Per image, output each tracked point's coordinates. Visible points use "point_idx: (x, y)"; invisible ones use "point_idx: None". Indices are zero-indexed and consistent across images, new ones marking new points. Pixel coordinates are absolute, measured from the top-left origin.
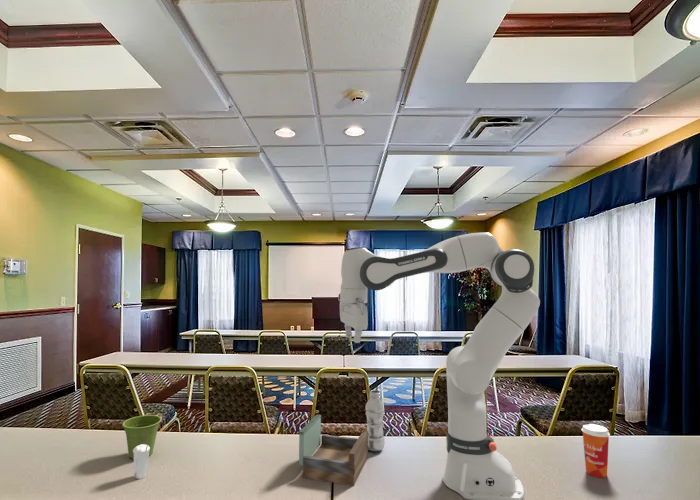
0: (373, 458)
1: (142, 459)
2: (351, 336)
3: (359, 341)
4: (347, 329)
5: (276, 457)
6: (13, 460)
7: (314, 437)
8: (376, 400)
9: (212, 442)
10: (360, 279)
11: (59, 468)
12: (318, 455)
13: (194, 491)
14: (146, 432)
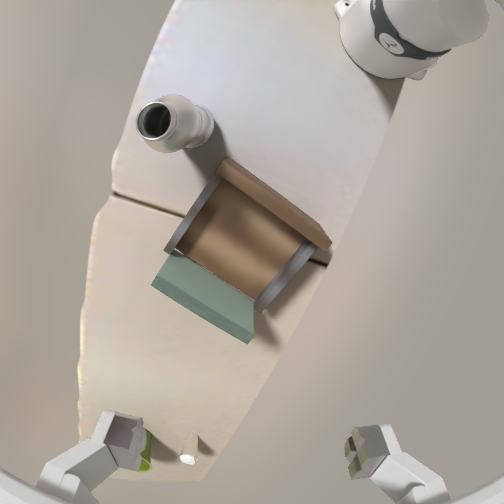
0: (232, 145)
1: (196, 452)
2: (139, 422)
3: (389, 430)
4: (99, 473)
5: (173, 315)
6: (142, 479)
7: (201, 284)
8: (178, 122)
9: (109, 377)
10: None
11: (161, 467)
12: (221, 266)
13: (244, 405)
14: (147, 455)
